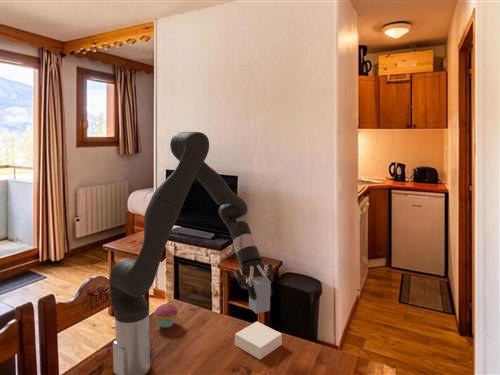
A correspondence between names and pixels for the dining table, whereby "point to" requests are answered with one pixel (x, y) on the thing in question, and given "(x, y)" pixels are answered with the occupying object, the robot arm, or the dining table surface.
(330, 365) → the dining table surface
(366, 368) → the dining table surface
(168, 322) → the cupcake
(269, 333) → the base
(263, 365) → the dining table surface
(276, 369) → the dining table surface
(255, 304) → the block
